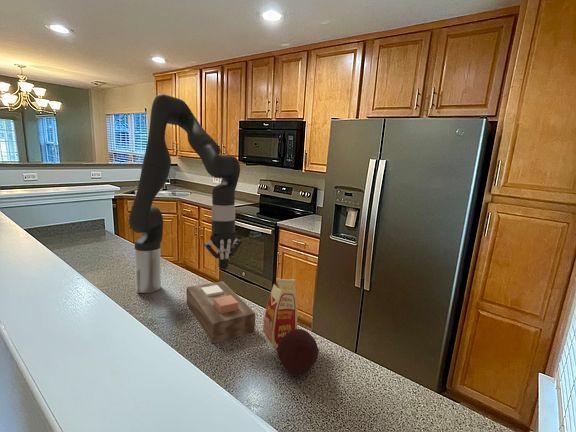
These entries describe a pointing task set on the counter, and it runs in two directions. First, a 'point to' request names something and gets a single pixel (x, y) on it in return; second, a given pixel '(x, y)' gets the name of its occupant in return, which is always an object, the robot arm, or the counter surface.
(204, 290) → the cream square block
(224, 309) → the salmon pink block
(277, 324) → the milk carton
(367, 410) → the counter surface
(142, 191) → the robot arm
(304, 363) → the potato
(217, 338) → the block
